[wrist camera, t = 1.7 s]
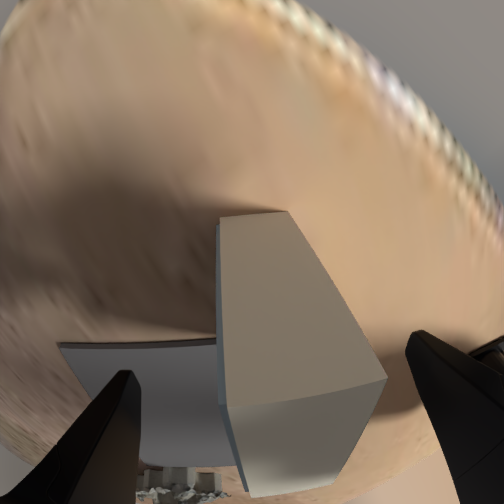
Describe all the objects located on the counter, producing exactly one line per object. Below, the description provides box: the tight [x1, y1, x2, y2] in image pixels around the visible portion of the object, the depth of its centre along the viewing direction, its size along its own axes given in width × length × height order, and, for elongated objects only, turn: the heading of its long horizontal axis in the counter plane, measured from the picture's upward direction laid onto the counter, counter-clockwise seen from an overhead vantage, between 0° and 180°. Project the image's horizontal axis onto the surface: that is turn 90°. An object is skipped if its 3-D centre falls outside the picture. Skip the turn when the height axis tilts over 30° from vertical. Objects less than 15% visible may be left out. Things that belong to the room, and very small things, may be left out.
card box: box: [216, 211, 388, 498], centre depth 9 cm, size 3×6×8 cm, turn 3°
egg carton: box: [136, 467, 231, 504], centre depth 21 cm, size 11×8×4 cm
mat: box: [59, 339, 236, 467], centre depth 17 cm, size 14×16×1 cm
